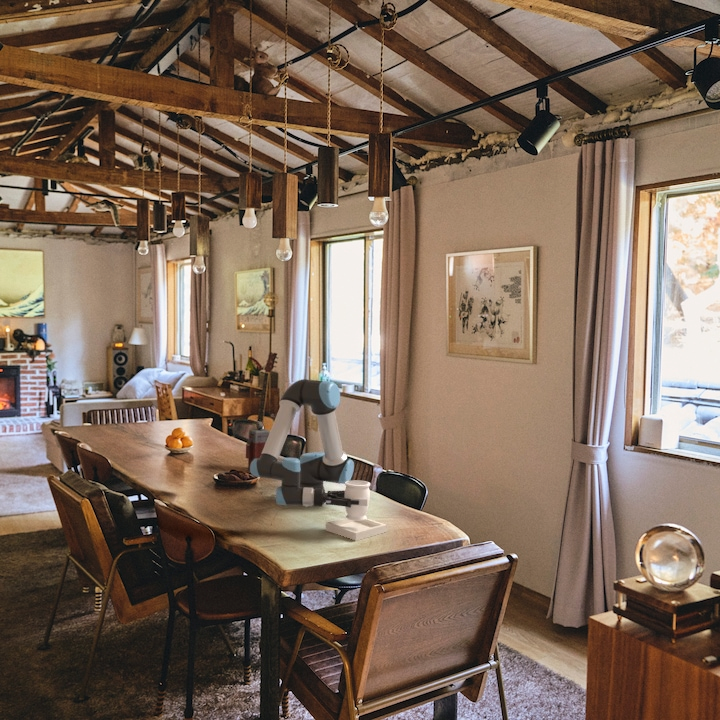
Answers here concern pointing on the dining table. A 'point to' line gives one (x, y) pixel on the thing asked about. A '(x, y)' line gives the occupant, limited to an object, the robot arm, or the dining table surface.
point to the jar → (357, 491)
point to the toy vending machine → (256, 442)
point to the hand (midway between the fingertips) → (367, 499)
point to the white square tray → (356, 528)
